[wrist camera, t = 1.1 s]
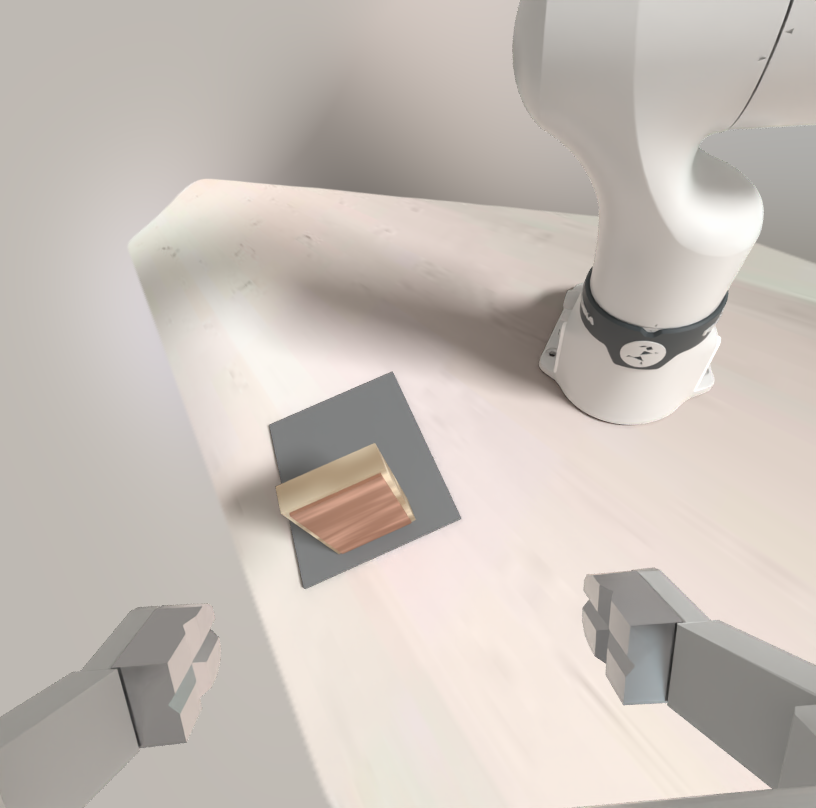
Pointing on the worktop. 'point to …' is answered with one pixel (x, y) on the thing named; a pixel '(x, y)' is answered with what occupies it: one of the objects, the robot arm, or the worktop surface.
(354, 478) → the flat wooden block
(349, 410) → the rubber mat
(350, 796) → the worktop surface
